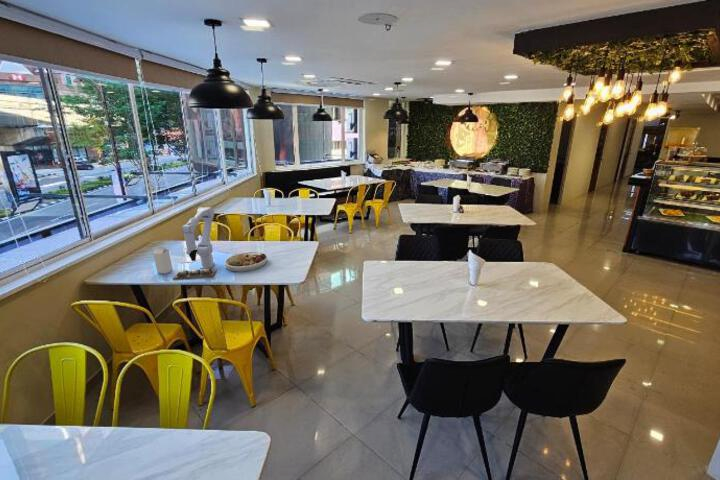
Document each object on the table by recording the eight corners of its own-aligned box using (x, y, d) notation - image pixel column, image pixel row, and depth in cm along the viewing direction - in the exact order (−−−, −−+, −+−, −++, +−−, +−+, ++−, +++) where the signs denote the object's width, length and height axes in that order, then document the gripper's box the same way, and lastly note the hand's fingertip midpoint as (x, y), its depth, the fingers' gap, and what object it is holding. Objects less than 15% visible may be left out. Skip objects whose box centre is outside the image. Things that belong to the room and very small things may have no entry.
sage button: (181, 273, 245) (180, 270, 245) (186, 273, 246) (186, 269, 245) (179, 275, 242) (178, 272, 241) (184, 275, 242) (184, 271, 241)
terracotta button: (205, 272, 247) (204, 268, 246) (210, 271, 247) (209, 268, 246) (203, 274, 243) (202, 270, 242) (208, 273, 244) (208, 270, 243)
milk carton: (166, 273, 250) (160, 248, 244) (157, 273, 252) (151, 248, 246) (173, 269, 257) (167, 245, 251) (164, 269, 258) (159, 244, 252)
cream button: (193, 272, 246) (192, 269, 245) (198, 272, 246) (197, 269, 245) (191, 274, 243) (190, 271, 242) (196, 274, 243) (196, 271, 242)
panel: (179, 273, 250) (178, 269, 249) (217, 270, 252) (216, 266, 251) (173, 279, 240) (172, 275, 239) (212, 277, 242) (211, 272, 241)
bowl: (223, 275, 244) (221, 265, 242) (227, 260, 272) (225, 251, 269) (268, 270, 251) (266, 259, 249) (267, 256, 279) (266, 246, 276)
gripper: (188, 239, 247) (191, 257, 251) (180, 245, 233) (183, 264, 237) (198, 238, 247) (201, 256, 251) (191, 244, 233) (194, 264, 237)
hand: (193, 260), depth 244 cm, fingers closed
